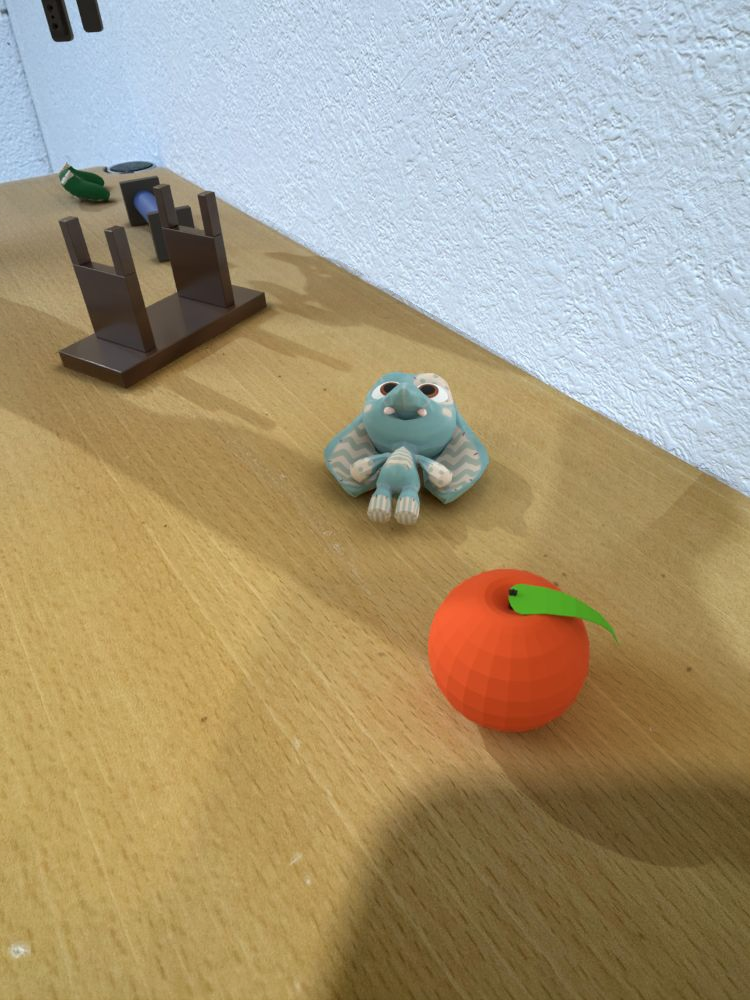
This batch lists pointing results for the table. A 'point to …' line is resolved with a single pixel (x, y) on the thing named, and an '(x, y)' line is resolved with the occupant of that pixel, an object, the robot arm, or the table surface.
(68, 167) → the green banana bunch
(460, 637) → the clementine
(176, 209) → the handle
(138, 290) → the holder
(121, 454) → the table surface
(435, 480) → the stuffed animal
